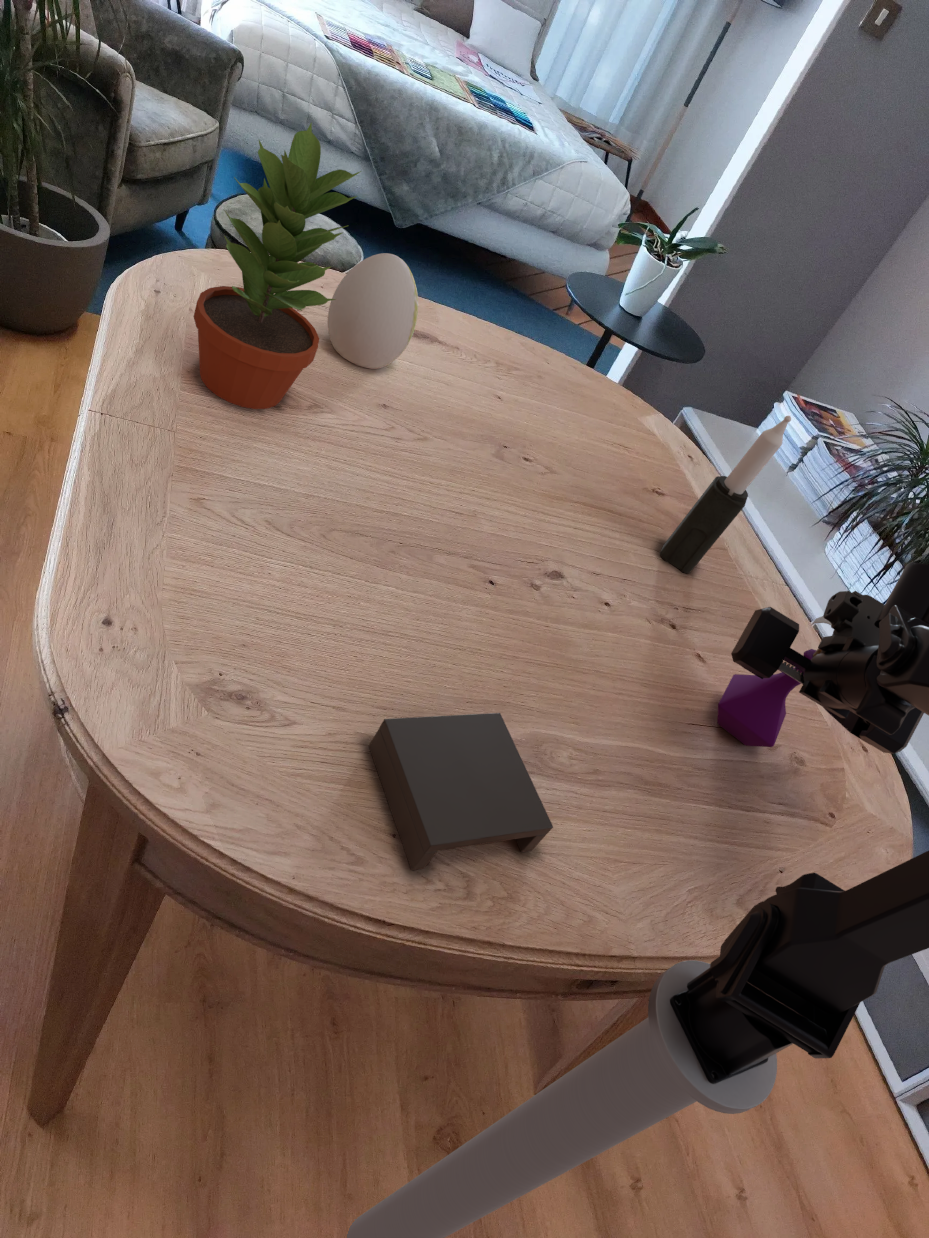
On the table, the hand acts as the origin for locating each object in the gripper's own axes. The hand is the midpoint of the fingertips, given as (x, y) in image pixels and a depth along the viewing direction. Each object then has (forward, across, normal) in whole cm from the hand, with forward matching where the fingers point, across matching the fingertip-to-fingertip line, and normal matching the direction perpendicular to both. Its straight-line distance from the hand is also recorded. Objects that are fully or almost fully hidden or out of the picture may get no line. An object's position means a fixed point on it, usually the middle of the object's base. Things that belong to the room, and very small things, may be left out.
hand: (789, 681), depth 91 cm
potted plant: (+14, +72, +1) cm, 73 cm away
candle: (+28, +12, -14) cm, 34 cm away
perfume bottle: (+8, 0, +6) cm, 10 cm away
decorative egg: (+31, +67, -16) cm, 76 cm away
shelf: (-15, +27, +28) cm, 42 cm away
